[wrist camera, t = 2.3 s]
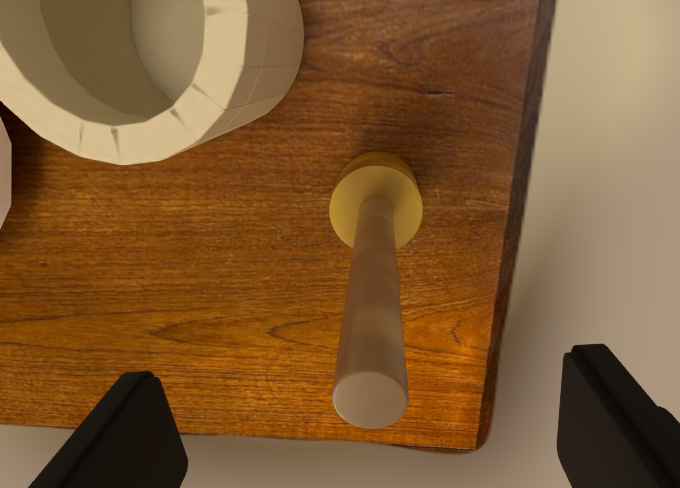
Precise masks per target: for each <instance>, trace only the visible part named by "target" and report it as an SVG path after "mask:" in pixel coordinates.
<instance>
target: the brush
mask: <svg viewBox="0 0 680 488" xmlns="http://www.w3.org/2000/svg"><path fill="white" fill-rule="evenodd" d="M329 213H330V219H331V223H332V226H333V228H334V230H335V232H336V233H337V235H338V236H339V237H340V239H341V240H342V241H343V242H344V243H346V244H347V245H348V246H350V247H351V248H353V253H352V260H351V267H350V273H349V280H348V287H347V294H346V300H345V307H344V314H343V320H342V327H341V334H340V341H339V347H338V354H337V361H336V367H335V374H334V381H333V388H332V402H333V405H334V408H335V410H336V411H337V413H338V414H339V415H340V416H341V417H342V418H343V419H344V420H345V421H347V422H348V423H350V424H352V425H354V426H357V427H361V428H367V429H378V428H383V427H387V426H389V425H391V424H393V423H395V422H396V421H398V420H399V419H400V418H401V417H402V416H403V414H404V413H405V411H406V409H407V406H408V401H409V396H408V384H407V373H406V361H405V349H404V338H403V326H402V314H401V303H400V291H399V279H398V268H397V256H396V250H397V249H399V248H401V247H402V246H404V245H405V244H406V243H408V242H409V241H410V240H411V239H412V238H413V236H414V235H415V234H416V232H417V230H418V229H419V226H420V224H421V221H422V216H423V203H422V199H421V195H420V192H419V189H418V185H417V182H416V179H415V176H414V174H413V172H412V170H411V169H410V167H409V166H408V165H407V164H406V163H405V162H404V161H403V160H402V159H400V158H399V157H397V156H395V155H393V154H390V153H387V152H381V151H373V152H367V153H364V154H361V155H359V156H357V157H355V158H354V159H352V160H351V161H350V162H349V163H348V164H347V165H346V166H345V167H344V168H343V170H342V171H341V173H340V175H339V178H338V180H337V183H336V186H335V188H334V191H333V194H332V197H331V200H330V207H329Z"/></svg>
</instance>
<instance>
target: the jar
mask: <svg viewBox="0 0 680 488" xmlns="http://www.w3.org/2000/svg"><path fill="white" fill-rule="evenodd" d="M303 47H304V26H303V17H302V12H301V7H300V4H299V1H298V0H0V101H2V103H3V104H4V105H5V106H7V107H8V108H9V109H10V110H11V111H12V112H13V113H14V114H15V115H17V116H18V117H19V118H20V119H21V120H22V121H23V122H24V123H26V124H27V125H28V126H29V127H30V128H31V129H32V130H33V131H35V132H36V133H37V134H39V136H41V137H43V138H45V139H47V140H49V141H51V142H53V143H54V144H56V145H58V146H60V147H62V148H64V149H66V150H68V151H70V152H72V153H74V154H75V155H77V156H81V157H84V158H89V159H94V160H99V161H104V162H109V163H114V164H118V165H129V164H137V163H145V162H154V161H161V160H164V159H166V158H169V157H171V156H173V155H176V154H178V153H180V152H183V151H185V150H187V149H190V148H192V147H194V146H196V145H199V144H201V143H203V142H206V141H208V140H210V139H213V138H215V137H217V136H220V135H222V134H224V133H227V132H229V131H231V130H234V129H236V128H238V127H241V126H243V125H245V124H247V123H249V122H251V121H253V120H255V119H257V118H259V117H261V116H263V115H265V114H267V113H268V112H269V111H270V110H272V109H273V108H274V107H275V106H276V105H277V104H278V103H279V102H280V101H281V100H282V99H283V98H284V96H285V95H286V94H287V92H288V91H289V89H290V87H291V86H292V84H293V82H294V80H295V78H296V75H297V73H298V71H299V67H300V63H301V60H302V54H303Z"/></svg>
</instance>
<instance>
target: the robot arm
mask: <svg viewBox="0 0 680 488" xmlns="http://www.w3.org/2000/svg"><path fill="white" fill-rule="evenodd" d="M557 452H558V457H559V460H560V463H561V465H562V467H563V469H564V471H565V473H566V476H567V478H568V480H569V482H570V484H571V486H572V488H680V423H679V422H678V421H677V420H676V419H675V417H674V416H673V415H672V414H671V413H670V412H669V411H667V410H666V409H664V408H662V407H660V406H659V407H658V406H657V405H656V404H655V403H654V402H653V400H652V399H651V398H650V397H649V396H648V395H647V393H646V392H645V391H644V390H643V389H642V387H641V386H640V385H639V384H638V383H637V382H636V380H635V379H634V378H633V377H632V376H631V374H630V373H629V372H628V371H627V370H626V368H625V367H624V366H623V365H622V364H621V362H620V361H619V360H618V359H617V358H616V357H615V355H614V354H613V353H612V352H611V351H610V349H609V348H608V347H607V346H606V345H604V344H588V345H575V346H573V348H572V351H571V352H570V353H565V354H564V357H563V370H562V382H561V395H560V408H559V421H558V435H557ZM187 468H188V458H187V455H186V452H185V449H184V446H183V443H182V441H181V438H180V435H179V432H178V429H177V426H176V424H175V421H174V418H173V415H172V412H171V409H170V407H169V404H168V401H167V398H166V395H165V392H164V389H163V387H162V384H161V381H160V379H159V378H158V377H154V375H153V373H151V372H150V371H139V372H126V373H124V374H122V375H121V376H120V377H119V379H118V380H117V381H116V382H115V383H114V385H113V386H112V387H111V388H110V389H109V391H108V392H107V393H106V394H105V395H104V397H103V398H102V399H101V400H100V402H99V403H98V404H97V405H96V406H95V408H94V409H93V410H92V411H91V412H90V414H89V415H88V416H87V417H86V418H85V420H84V421H83V422H82V423H81V424H80V426H79V427H78V428H77V429H76V430H75V432H74V433H73V434H72V435H71V437H70V438H69V439H68V440H67V441H66V443H65V444H64V445H63V446H62V447H61V449H60V450H59V451H58V452H57V453H56V455H55V456H54V457H53V458H52V459H51V461H50V462H49V463H48V464H47V465H46V467H45V468H44V469H43V470H42V471H41V473H40V474H39V475H38V476H37V477H36V479H35V480H34V481H33V482H32V483H31V485H30V486H29V487H28V488H180V486H181V483H182V481H183V479H184V477H185V475H186V472H187Z"/></svg>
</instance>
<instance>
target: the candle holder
mask: <svg viewBox="0 0 680 488" xmlns="http://www.w3.org/2000/svg"><path fill="white" fill-rule="evenodd" d="M10 207H11V142H10V139H9V137H8V134H7V132H6V129H5V127H4V124H3V122H2V119H1V117H0V229H1V226H2V224H3V222H4V220H5V218H6V215H7V213H8V211H9V209H10Z"/></svg>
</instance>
